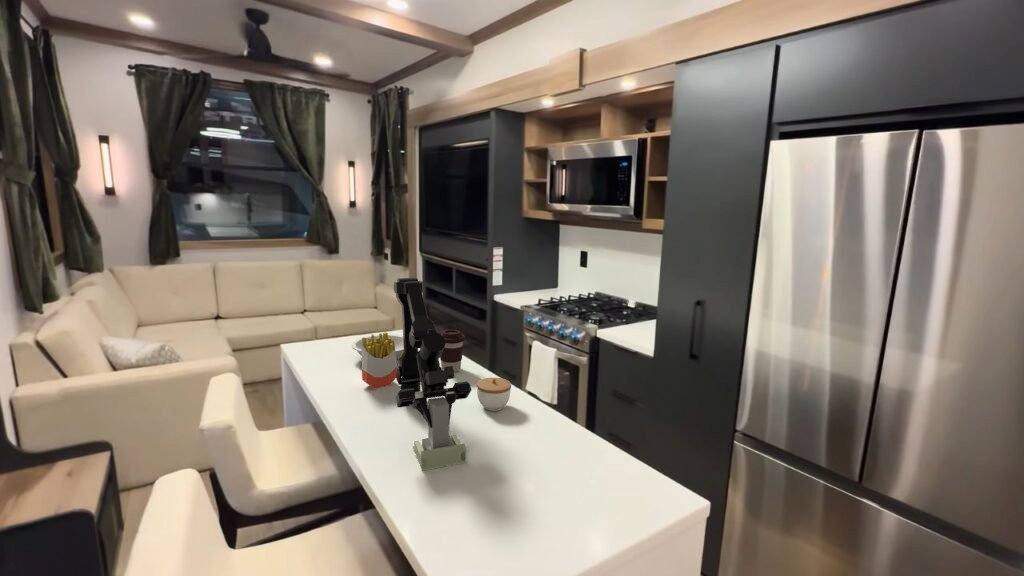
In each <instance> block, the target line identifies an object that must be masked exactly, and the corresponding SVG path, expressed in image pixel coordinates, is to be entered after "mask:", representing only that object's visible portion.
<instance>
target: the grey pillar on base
mask: <svg viewBox="0 0 1024 576" xmlns="http://www.w3.org/2000/svg"><path fill="white" fill-rule="evenodd" d="M427 405H428V409H429V413H430V417H431V421H432V428H430V427H429V426H428V425H427V426H428V428H427V429H428V431H427V432H428V434H427V435H428V437H426V438H422V439H421V445H422V447H423V449H424V451H425V450H431V449H436V448H442V447H448V446H453V445H454V443H453V442H452V440H451V435H449V433H450V432H449V431H450V429H449V428H450V423H449V404H448V403H447V401H446V400H445V397H444V396H442V397H435V398H427Z"/></svg>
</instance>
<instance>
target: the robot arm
mask: <svg viewBox="0 0 1024 576" xmlns="http://www.w3.org/2000/svg"><path fill="white" fill-rule="evenodd" d="M393 293H394V294H395V298H396V299H397V301H398V303H399V305H400V306H401V319H402V320H401V321H402V336H403V342H404V352H403V354H402V356H401V357H400V358H399V360H398V361H399V362H398V364H399V365H397V372H396V379H395V380H396V381H397V384H398V385H400V388H399V391H398V392H397V394H396V397H395V398H396V399H395V400H396V401H395V402H396V408H400V409H401V408H406V407H411V409H413V410H414V409H416V410H417V411H418V413H419V414H420V415H421V417H422V418H423V419H424V421H425V422H426V424H427V426H429V427H430V428H432V421H431V417H430V413H429V409H428V399H433V398H440V397H444V398H445V400H446V401H447V403H448V404H449V424H450V421H451V415H452V408H453V404H455V403H456V400H463V399H467V398H468V397H469V395H470V393H471V392H472V385H471V383H470V382H469V381H466V380H465V381H457V382H454V384H453V386H452V387H448V388H447V383H449V380H453V379H455V372H454V370H453V366H447V367H445V368H444V370H442V369H441V362H440V360H439V359H440V357H441V354H442V352H443V349H444V347H445V344H446V341H445V339H444V337H443V336H442V335H441V334H442V333H440V332H439V330H437V328H436V326H435V323H434V321H432V320H431V319H430V318H429V316H428V313H427V309H426V308H427V307H426V305H425V299H424V295H423V293H424V281H423V280H419V278H418V277H398V278H397V280H396V281H393ZM445 387H446V388H445ZM411 405H412V406H411Z"/></svg>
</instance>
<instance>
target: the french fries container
mask: <svg viewBox="0 0 1024 576" xmlns="http://www.w3.org/2000/svg"><path fill="white" fill-rule="evenodd" d="M378 335H379V337H378V338H376V341H374V334H371V335H370V336H371V338H368V344H367V343H366V337H367V336H364V337H361V338H362V344H363V345H361V351H362V356H361V380H362V382H365V383H366V384H367V385H368V386H370V387H371V388H373V389H375V390H376V389H380V388H385V387H387V386H391V385H392V383H393V382H394V381H395V380H397V379H396V372H397V368H398V365H397V363H398V362H397V359H396V350H395V344H394V341H393V339H391V338H388V335H389V333H388V332H387V331H385V332H384V331H383V332H382V333H381V332H380V333H379V334H378ZM382 335H383V339H382ZM371 339H372V342H371ZM383 340H384V341H383Z"/></svg>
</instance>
